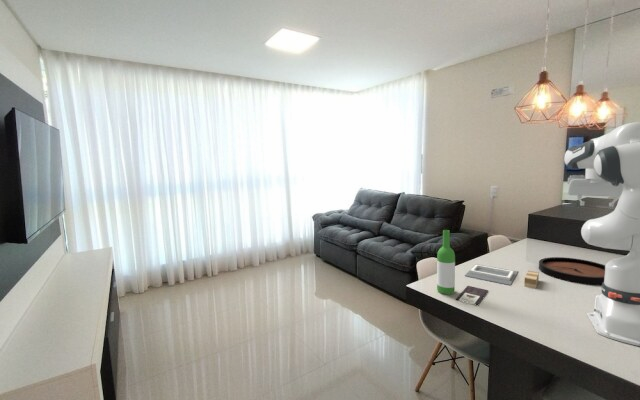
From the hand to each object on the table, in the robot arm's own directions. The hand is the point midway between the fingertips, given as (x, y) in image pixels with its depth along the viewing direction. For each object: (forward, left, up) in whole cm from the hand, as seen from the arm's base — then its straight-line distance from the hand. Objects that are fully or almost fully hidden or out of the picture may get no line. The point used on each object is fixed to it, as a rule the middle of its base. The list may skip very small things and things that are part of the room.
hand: (596, 206), depth 132 cm
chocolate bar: (-36, +41, -40) cm, 67 cm away
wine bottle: (-39, +52, -40) cm, 76 cm away
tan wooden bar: (-5, +22, -40) cm, 46 cm away
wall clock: (+23, +6, -40) cm, 47 cm away
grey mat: (-3, +40, -40) cm, 56 cm away
